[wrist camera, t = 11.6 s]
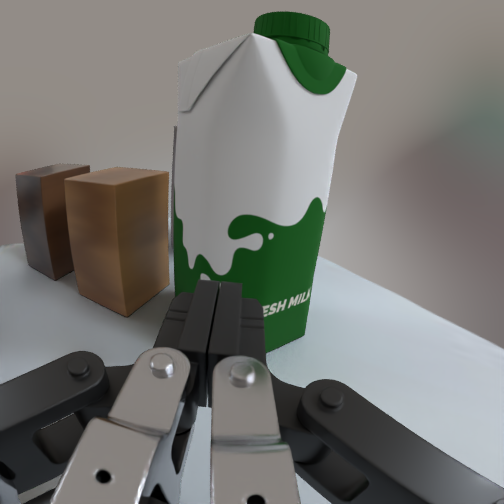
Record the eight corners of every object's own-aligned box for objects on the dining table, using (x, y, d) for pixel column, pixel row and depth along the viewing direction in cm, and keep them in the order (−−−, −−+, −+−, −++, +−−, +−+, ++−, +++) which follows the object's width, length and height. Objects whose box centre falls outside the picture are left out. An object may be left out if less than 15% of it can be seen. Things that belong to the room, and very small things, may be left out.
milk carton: (218, 387, 16) (252, -16, 8) (160, 307, 22) (168, 34, 14) (321, 338, 21) (373, 47, 13) (250, 283, 27) (274, 56, 19)
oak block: (78, 293, 22) (63, 178, 18) (122, 267, 27) (116, 166, 23) (127, 317, 20) (114, 184, 16) (169, 284, 26) (169, 171, 22)
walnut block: (28, 265, 25) (15, 174, 21) (66, 246, 30) (59, 163, 26) (55, 280, 23) (40, 176, 19) (96, 258, 29) (90, 165, 25)
